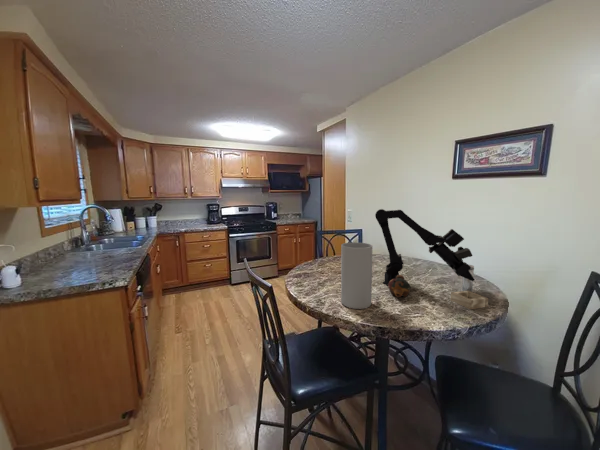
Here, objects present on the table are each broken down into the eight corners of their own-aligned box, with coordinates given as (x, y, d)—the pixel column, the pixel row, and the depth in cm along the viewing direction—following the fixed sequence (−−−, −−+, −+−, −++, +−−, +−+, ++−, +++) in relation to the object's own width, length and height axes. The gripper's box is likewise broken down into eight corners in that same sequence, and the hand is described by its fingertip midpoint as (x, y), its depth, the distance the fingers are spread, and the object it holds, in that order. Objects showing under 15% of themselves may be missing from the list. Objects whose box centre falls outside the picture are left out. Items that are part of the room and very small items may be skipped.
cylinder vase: (366, 312, 94) (367, 249, 91) (336, 305, 100) (336, 246, 98) (374, 301, 104) (376, 244, 102) (347, 295, 111) (347, 241, 108)
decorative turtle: (408, 290, 116) (410, 274, 115) (411, 304, 102) (413, 287, 101) (387, 286, 119) (388, 271, 118) (387, 300, 105) (388, 283, 104)
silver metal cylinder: (467, 293, 111) (469, 267, 109) (459, 290, 115) (460, 264, 113) (474, 292, 112) (476, 266, 110) (466, 289, 116) (468, 264, 114)
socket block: (469, 309, 95) (470, 300, 95) (450, 300, 104) (451, 292, 103) (487, 306, 97) (488, 298, 97) (467, 298, 106) (467, 290, 106)
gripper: (466, 246, 103) (495, 273, 101) (454, 239, 121) (479, 262, 118) (444, 262, 107) (472, 289, 104) (436, 253, 124) (459, 276, 122)
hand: (471, 278), depth 112 cm, fingers open, 6 cm apart
